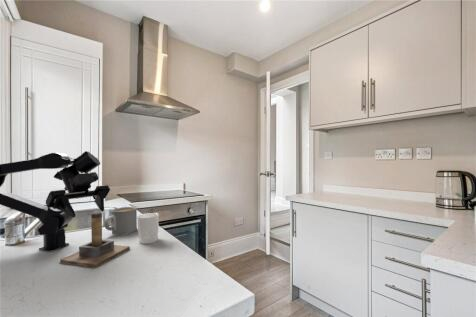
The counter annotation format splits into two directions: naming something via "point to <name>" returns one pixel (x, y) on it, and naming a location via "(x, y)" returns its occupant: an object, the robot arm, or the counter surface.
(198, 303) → the counter surface
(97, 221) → the wooden peg
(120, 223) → the coffee mug
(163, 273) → the counter surface
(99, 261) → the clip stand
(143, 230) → the white cup
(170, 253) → the counter surface
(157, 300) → the counter surface
